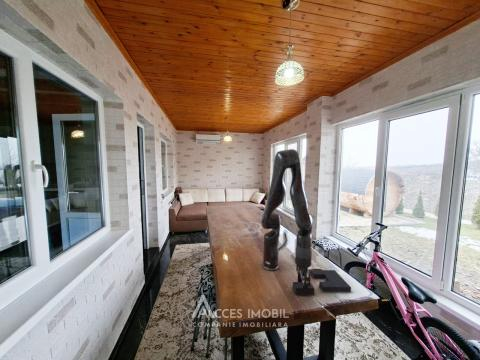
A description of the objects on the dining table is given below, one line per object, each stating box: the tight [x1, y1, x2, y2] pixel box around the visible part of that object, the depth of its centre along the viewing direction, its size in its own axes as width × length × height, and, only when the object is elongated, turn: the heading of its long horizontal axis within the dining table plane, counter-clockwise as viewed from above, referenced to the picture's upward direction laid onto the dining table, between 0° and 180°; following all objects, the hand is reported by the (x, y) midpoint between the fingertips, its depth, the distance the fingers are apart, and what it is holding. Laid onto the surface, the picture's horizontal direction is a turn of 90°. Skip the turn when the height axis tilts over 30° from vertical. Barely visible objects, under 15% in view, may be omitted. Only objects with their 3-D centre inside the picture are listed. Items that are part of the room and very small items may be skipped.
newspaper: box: [291, 252, 324, 273], centre depth 125 cm, size 23×12×2 cm, turn 4°
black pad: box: [292, 281, 315, 296], centre depth 95 cm, size 5×9×4 cm, turn 91°
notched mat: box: [310, 269, 352, 293], centre depth 103 cm, size 16×14×2 cm
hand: (302, 287), depth 94 cm, fingers open, 8 cm apart
